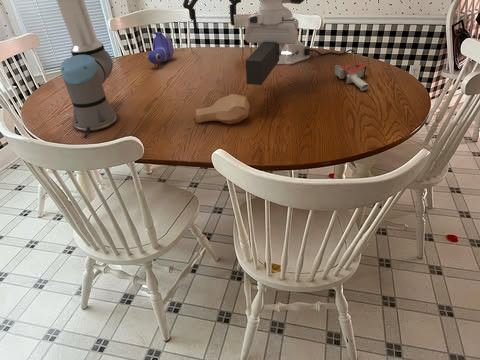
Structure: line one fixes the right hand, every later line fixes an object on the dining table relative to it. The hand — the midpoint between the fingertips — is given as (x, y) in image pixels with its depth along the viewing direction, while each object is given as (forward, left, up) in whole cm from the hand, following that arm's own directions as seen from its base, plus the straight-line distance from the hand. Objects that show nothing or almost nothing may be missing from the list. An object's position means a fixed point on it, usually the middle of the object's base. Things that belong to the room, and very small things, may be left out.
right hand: (271, 54), depth 141 cm
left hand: (+22, -4, +13) cm, 26 cm away
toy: (+26, -64, -15) cm, 71 cm away
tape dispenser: (-33, +13, -15) cm, 38 cm away
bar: (+8, +7, -3) cm, 11 cm away
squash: (+30, +13, -15) cm, 36 cm away
